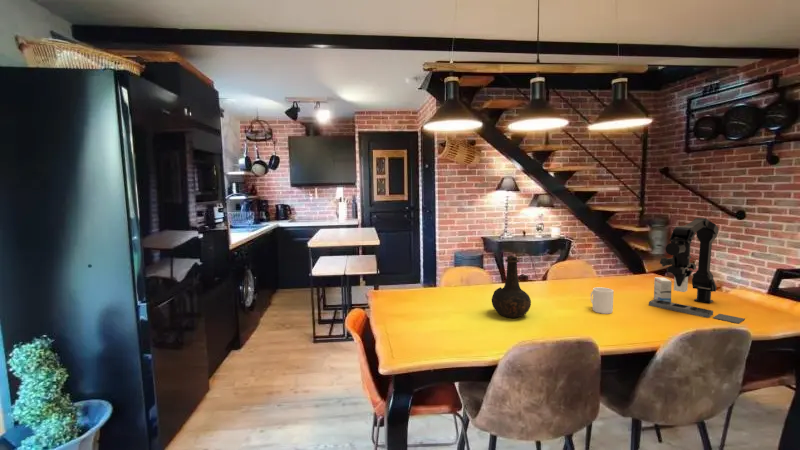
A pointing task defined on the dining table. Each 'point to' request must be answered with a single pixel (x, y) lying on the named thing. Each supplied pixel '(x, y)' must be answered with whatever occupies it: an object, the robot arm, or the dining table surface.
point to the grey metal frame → (681, 308)
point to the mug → (602, 300)
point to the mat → (728, 318)
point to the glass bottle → (511, 294)
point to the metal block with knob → (683, 286)
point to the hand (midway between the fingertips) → (680, 285)
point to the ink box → (662, 289)
